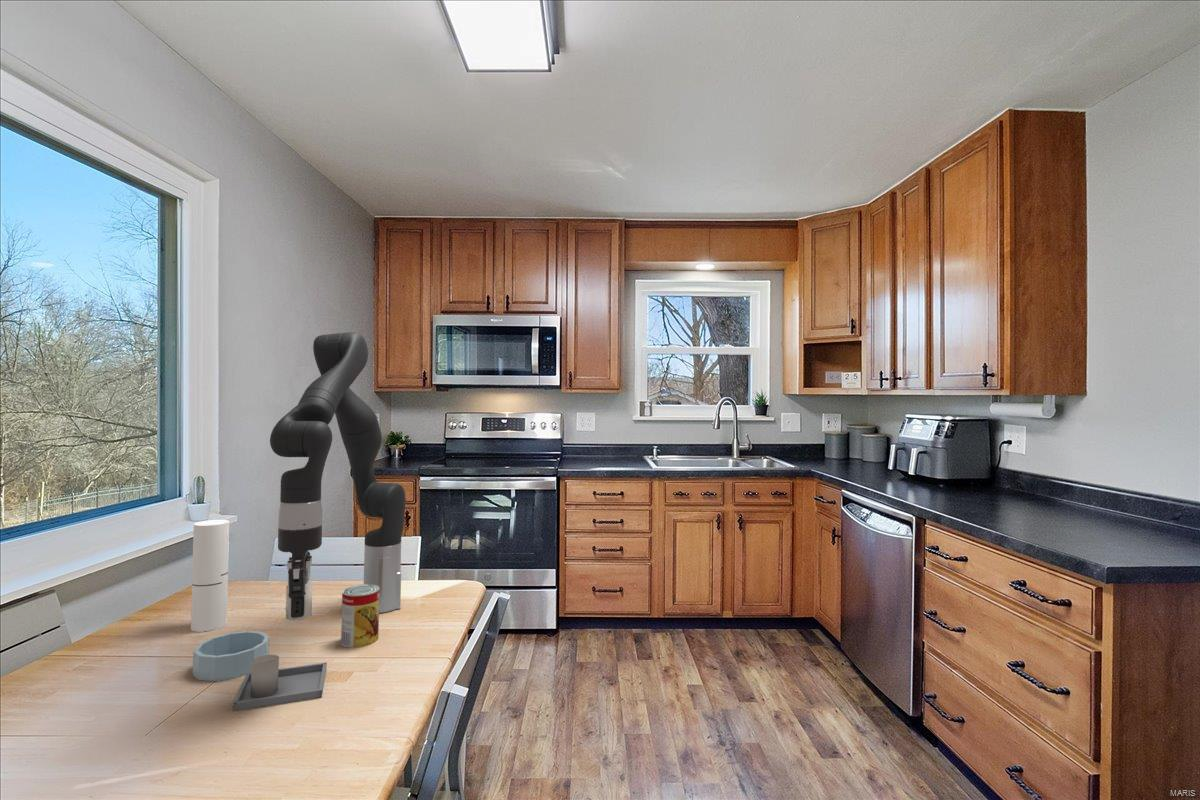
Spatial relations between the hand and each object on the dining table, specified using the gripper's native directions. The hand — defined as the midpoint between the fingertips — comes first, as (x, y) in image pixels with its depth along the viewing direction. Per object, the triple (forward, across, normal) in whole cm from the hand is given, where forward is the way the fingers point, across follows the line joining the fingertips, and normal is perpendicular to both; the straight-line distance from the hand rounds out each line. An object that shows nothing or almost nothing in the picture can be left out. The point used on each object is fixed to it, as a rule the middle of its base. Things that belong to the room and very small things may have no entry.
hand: (298, 611), depth 110 cm
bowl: (+14, +12, +13) cm, 23 cm away
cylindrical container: (+14, +39, +23) cm, 48 cm away
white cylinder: (+13, -2, +5) cm, 15 cm away
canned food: (+14, +17, -11) cm, 25 cm away
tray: (+14, -2, +2) cm, 14 cm away
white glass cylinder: (+1, 0, 0) cm, 1 cm away
